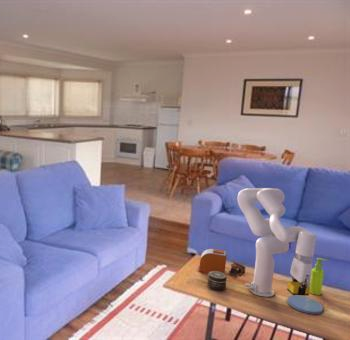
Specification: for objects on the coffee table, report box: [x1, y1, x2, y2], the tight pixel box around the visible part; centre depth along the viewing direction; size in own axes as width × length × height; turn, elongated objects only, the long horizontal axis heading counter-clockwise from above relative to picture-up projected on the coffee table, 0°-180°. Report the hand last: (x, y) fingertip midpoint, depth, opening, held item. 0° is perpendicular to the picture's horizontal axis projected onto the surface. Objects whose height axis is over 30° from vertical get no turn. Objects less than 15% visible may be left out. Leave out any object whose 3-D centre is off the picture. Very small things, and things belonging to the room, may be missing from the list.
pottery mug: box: [228, 261, 246, 278], centre depth 224 cm, size 12×10×8 cm
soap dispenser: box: [309, 257, 329, 296], centre depth 205 cm, size 6×7×20 cm
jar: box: [207, 271, 228, 292], centre depth 208 cm, size 10×10×8 cm
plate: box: [287, 295, 324, 315], centre depth 192 cm, size 16×16×1 cm
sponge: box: [286, 281, 310, 297], centre depth 181 cm, size 8×5×4 cm, turn 92°
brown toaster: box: [198, 248, 228, 275], centre depth 228 cm, size 15×8×14 cm, turn 69°
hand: (297, 291), depth 181 cm, fingers closed on sponge, 5 cm apart
